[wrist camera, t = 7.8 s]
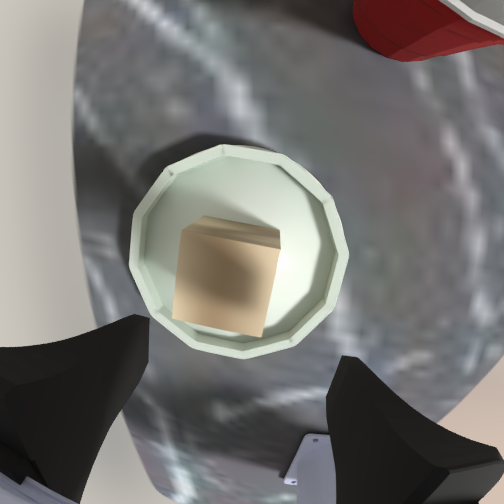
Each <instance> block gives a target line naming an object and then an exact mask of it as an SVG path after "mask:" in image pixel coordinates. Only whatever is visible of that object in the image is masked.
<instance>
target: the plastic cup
mask: <svg viewBox="0 0 504 504" xmlns="http://www.w3.org/2000/svg"><path fill="white" fill-rule="evenodd" d="M353 18H354V22H355V25H356V27H357V29H358V32H359V34H360V36H361V37H362V38H363V39H364V40H365V41H366V42H367V43H368V45H369V46H370V47H371V48H372V49H374V50H376V51H377V52H379V53H380V54H382V55H384V56H385V57H387V58H391V59H394V60H398V61H401V62H410V61H422V60H426V59H429V58H432V57H436V56H446V55H450V54H454V53H459V52H463V51H467V50H472V49H477V48H481V47H486V46H492V45H497V44H501V45H504V0H353Z"/></svg>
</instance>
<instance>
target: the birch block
mask: <svg viewBox="0 0 504 504" xmlns="http://www.w3.org/2000/svg"><path fill="white" fill-rule="evenodd" d="M280 251H281V242H280V230H277V229H272V228H267V227H262V226H257V225H252V224H247V223H241V222H236V221H231V220H225V219H220V218H215V217H209V216H204V215H203V216H202V217H200V218H199V219H197V220H196V221H194V222H193V223H191V224H190V225H188V226H187V227H186V228H184V229H183V230H181V237H180V245H179V254H178V262H177V272H176V281H175V291H174V302H173V313H172V319H176V320H180V321H185V322H189V323H193V324H198V325H202V326H207V327H211V328H216V329H220V330H225V331H230V332H235V333H240V334H245V335H250V336H255V337H260V338H261V337H262V333H263V329H264V324H265V320H266V315H267V311H268V306H269V302H270V297H271V293H272V288H273V284H274V279H275V275H276V270H277V265H278V261H279V256H280Z"/></svg>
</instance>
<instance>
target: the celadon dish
mask: <svg viewBox="0 0 504 504" xmlns="http://www.w3.org/2000/svg"><path fill="white" fill-rule="evenodd" d="M203 215H204V216H209V217H215V218H220V219H225V220H231V221H236V222H241V223H247V224H252V225H257V226H262V227H267V228H272V229H277V230H280V242H281V251H280V256H279V261H278V265H277V270H276V275H275V279H274V284H273V288H272V293H271V297H270V302H269V306H268V311H267V315H266V320H265V324H264V329H263V333H262V337H261V338H260V337H255V336H250V335H245V334H240V333H235V332H230V331H225V330H220V329H216V328H211V327H207V326H202V325H198V324H193V323H189V322H185V321H180V320H176V319H172V313H173V302H174V291H175V281H176V272H177V262H178V254H179V245H180V237H181V230H183V229H184V228H186V227H187V226H188V225H190V224H191V223H193V222H194V221H196V220H197V219H199V218H200V217H202V216H203ZM348 258H349V252H348V248H347V244H346V241H345V237H344V233H343V228H342V224H341V220H340V218H339V215H338V212H337V210H336V207H335V204H334V201H333V198H332V196H331V195H330V194H329V193H328V192H326V191H325V189H324V188H323V187H322V185H321V184H320V183H319V182H318V181H317V180H316V179H315V178H314V177H313V176H312V175H311V174H310V173H309V172H308V171H307V170H305V169H304V168H303V167H302V166H300V165H299V164H298V163H296V162H294V161H292V160H291V159H289V158H288V157H287V156H286V155H285V156H284V154H278V153H276V152H273V151H271V150H267V149H263V148H259V147H255V146H245V145H226V144H223V145H222V144H221V145H218V146H216V147H213V148H210V149H207V150H203V151H200V152H197V153H195V154H193V155H191V156H189V157H187V158H185V159H183V160H181V161H179V162H176V163H174V164H172V165H169V166H167V167H166V168H165V169H164V170H163V172H162V173H161V175H160V176H159V177H158V179H157V180H156V181H155V183H154V184H153V186H152V187H151V188H150V190H149V191H148V193H147V194H146V195H145V197H144V198H143V200H142V201H141V202H140V204H139V205H138V207H137V208H136V210H135V211H134V214H133V220H132V231H131V244H130V259H129V267H130V271H131V273H132V275H133V278H134V280H135V282H136V284H137V286H138V289H139V291H140V293H141V295H142V297H143V300H144V302H145V304H146V306H147V308H148V310H149V312H150V314H151V315H152V317H153V318H155V319H156V320H157V321H158V322H160V323H161V324H162V325H163V326H165V327H166V328H167V329H168V330H170V331H171V332H172V333H173V334H175V335H176V336H177V337H178V338H180V339H181V340H182V341H184V342H185V343H186V344H187V345H189V346H190V347H191V348H192V347H193V349H198V350H202V351H206V352H211V353H215V354H220V355H225V356H230V357H234V358H239V359H248V358H252V357H256V356H260V355H263V354H267V353H271V352H275V351H279V350H282V349H286V348H289V347H293V346H294V345H297V344H298V343H299V342H300V341H301V340H302V339H303V338H304V337H305V336H306V335H307V334H308V333H310V332H311V331H312V330H313V329H314V328H315V327H316V326H317V325H318V324H319V323H320V322H321V321H322V320H323V319H324V318H325V317H326V316H327V315H328V314H329V313H330V312H331V311H332V310H333V308H335V304H336V301H337V298H338V294H339V291H340V287H341V284H342V280H343V276H344V273H345V269H346V265H347V262H348Z"/></svg>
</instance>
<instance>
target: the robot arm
mask: <svg viewBox="0 0 504 504" xmlns="http://www.w3.org/2000/svg"><path fill="white" fill-rule="evenodd" d="M149 319H150V318H148V317H144V316H140V315H136V314H133V315H130V316H128V317H125V318H122V319H120V320H118V321H115V322H113V323H110V324H108V325H105V326H103V327H100V328H98V329H95V330H93V331H90V332H87V333H84V334H81V335H78V336H75V337H72V338H69V339H65V340H61V341H57V342H52V343H47V344H40V345H33V346H24V347H0V504H80V501H81V498H82V494H83V491H84V488H85V485H86V483H87V480H88V477H89V474H90V472H91V469H92V466H93V464H94V461H95V459H96V457H97V454H98V452H99V450H100V447H101V445H102V443H103V441H104V439H105V437H106V435H107V432H108V430H109V428H110V427H111V425H112V423H113V421H114V420H115V418H116V417H117V415H118V413H119V412H120V411H121V409H122V408H123V406H124V405H125V403H126V402H127V400H128V399H129V397H130V395H131V394H132V392H133V391H134V389H135V388H136V386H137V385H138V383H139V381H140V379H141V377H142V375H143V373H144V371H145V368H146V366H147V364H148V352H149ZM326 414H327V424H328V430H329V435H322V434H307V435H305V436H304V438H303V440H302V442H301V444H300V447H299V449H298V451H297V453H296V455H295V457H294V459H293V461H292V463H291V465H290V467H289V470H288V472H287V474H286V476H285V477H284V483H286V484H293V485H297V504H479V503H478V502H479V500H480V499H482V498H483V497H484V496H485V495H486V494H487V493H488V492H489V491H490V490H491V489H492V487H494V485H495V484H496V483H497V482H498V481H499V480H500V478H501V477H502V475H503V473H504V460H503V458H502V456H501V455H500V453H499V451H498V450H497V448H496V447H493V446H489V445H486V444H482V443H479V442H476V441H473V440H470V439H467V438H465V437H463V436H460V435H458V434H456V433H453V432H451V431H449V430H447V429H445V428H444V427H442V426H440V425H438V424H436V423H435V422H433V421H431V420H430V419H428V418H426V417H425V416H423V415H422V414H421V413H419V412H418V411H416V410H415V409H413V408H412V407H411V406H410V405H408V404H407V403H406V402H405V401H403V400H402V399H401V398H400V397H399V396H398V395H396V394H395V393H394V392H393V391H392V390H391V389H390V388H389V387H388V386H387V385H386V384H385V383H383V382H382V381H381V380H380V379H379V378H378V377H377V376H376V375H375V374H374V373H373V372H372V371H371V370H370V369H369V368H368V367H367V366H366V365H365V364H364V363H363V362H362V361H361V360H360V359H359V358H357V357H351V356H343V355H342V357H341V359H340V362H339V365H338V368H337V370H336V373H335V375H334V378H333V381H332V383H331V386H330V388H329V391H328V393H327V396H326Z"/></svg>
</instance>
